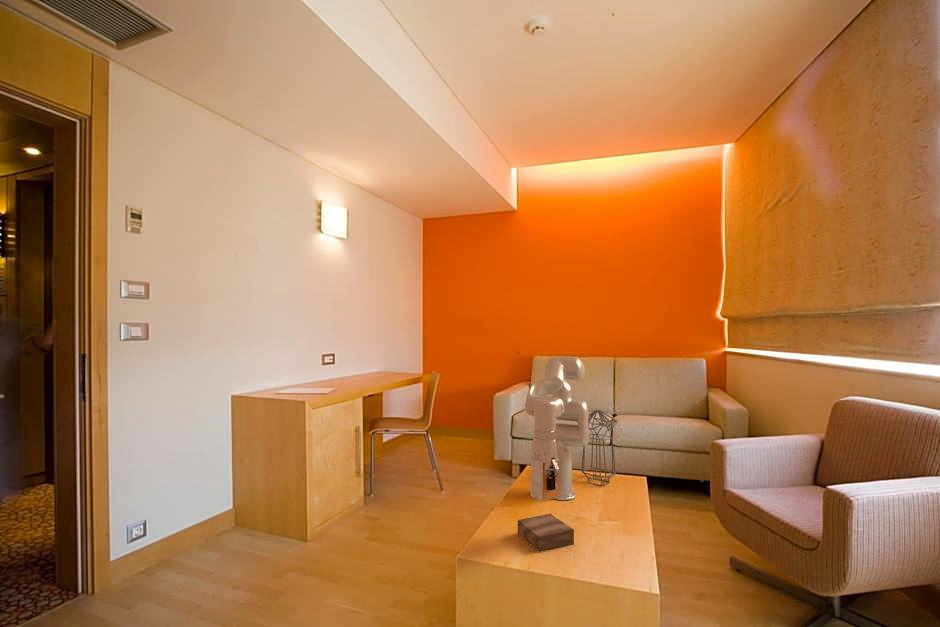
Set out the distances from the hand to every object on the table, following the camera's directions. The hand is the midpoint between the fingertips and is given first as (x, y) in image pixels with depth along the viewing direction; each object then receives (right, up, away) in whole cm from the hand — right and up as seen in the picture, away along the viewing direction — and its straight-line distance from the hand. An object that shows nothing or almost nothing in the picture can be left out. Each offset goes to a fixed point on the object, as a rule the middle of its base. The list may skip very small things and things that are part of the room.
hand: (544, 485), depth 152 cm
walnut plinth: (0, -18, -1) cm, 18 cm away
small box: (0, -4, 0) cm, 4 cm away
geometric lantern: (+37, -22, +59) cm, 73 cm away
